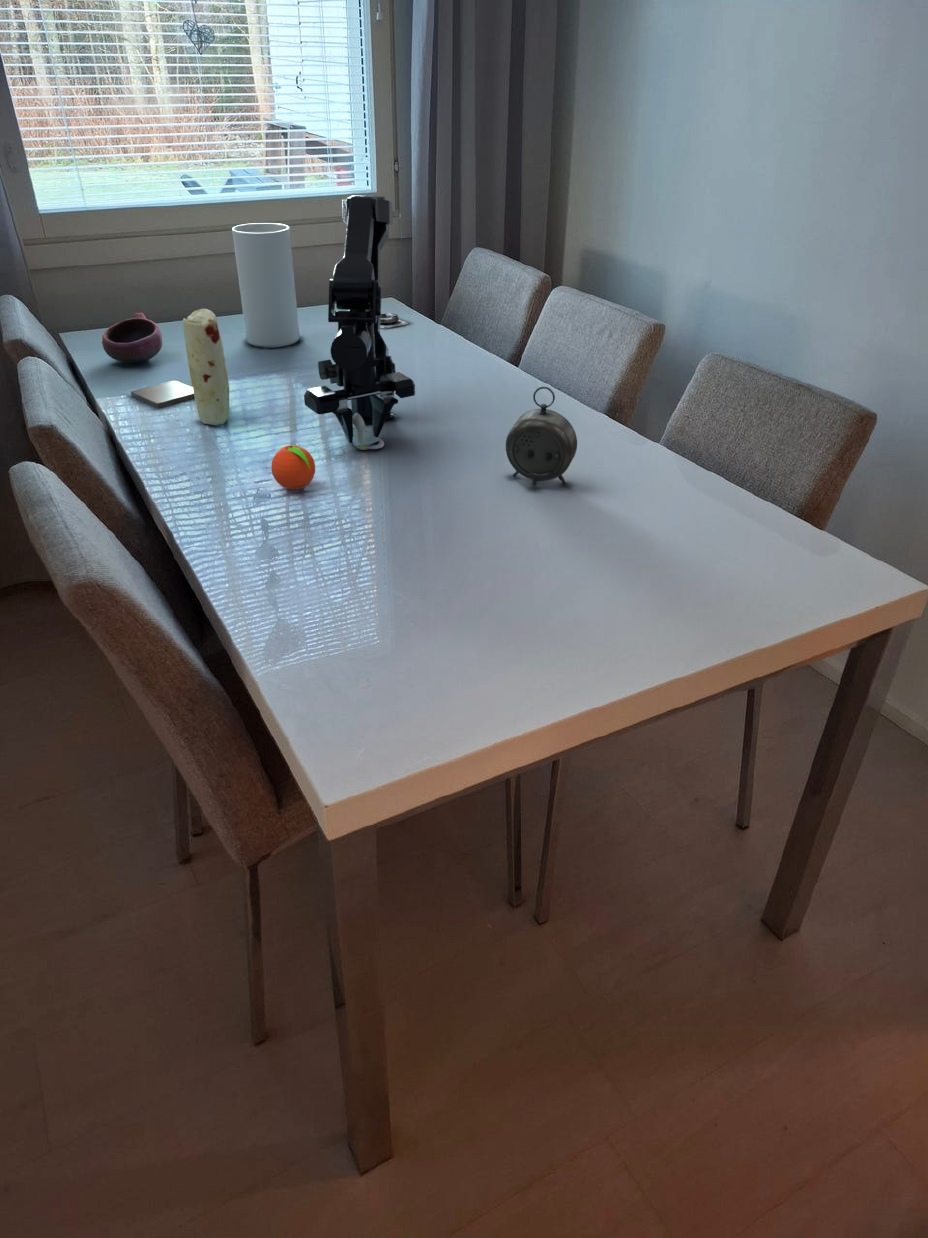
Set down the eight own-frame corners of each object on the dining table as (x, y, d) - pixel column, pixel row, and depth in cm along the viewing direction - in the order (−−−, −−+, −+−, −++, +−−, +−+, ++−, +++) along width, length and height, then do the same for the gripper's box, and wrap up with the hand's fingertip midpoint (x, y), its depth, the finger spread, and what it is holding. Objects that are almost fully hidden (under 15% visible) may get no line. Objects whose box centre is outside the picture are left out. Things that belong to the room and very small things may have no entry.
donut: (365, 321, 222) (364, 313, 220) (389, 316, 226) (389, 308, 225) (383, 328, 216) (383, 320, 215) (408, 323, 220) (408, 315, 219)
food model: (236, 427, 161) (220, 317, 150) (199, 431, 159) (181, 320, 148) (231, 409, 169) (216, 303, 158) (196, 412, 167) (178, 305, 156)
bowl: (173, 363, 192) (167, 326, 188) (114, 373, 186) (106, 335, 182) (152, 345, 204) (145, 310, 199) (96, 354, 198) (87, 318, 193)
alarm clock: (574, 482, 142) (582, 385, 133) (566, 495, 138) (574, 396, 129) (510, 472, 145) (514, 377, 136) (501, 485, 141) (504, 387, 132)
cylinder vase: (295, 348, 202) (283, 233, 188) (241, 348, 202) (226, 232, 188) (304, 333, 212) (293, 223, 198) (253, 333, 212) (239, 222, 199)
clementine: (330, 489, 139) (326, 447, 135) (295, 503, 135) (291, 460, 131) (299, 474, 144) (295, 434, 140) (264, 487, 140) (259, 446, 136)
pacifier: (371, 436, 158) (342, 442, 155) (371, 403, 155) (340, 408, 152) (391, 449, 153) (360, 455, 150) (390, 415, 150) (359, 421, 147)
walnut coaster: (175, 384, 181) (174, 379, 180) (202, 395, 175) (201, 390, 175) (131, 396, 175) (130, 391, 174) (158, 408, 169) (157, 403, 169)
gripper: (384, 331, 155) (388, 415, 163) (286, 347, 146) (295, 435, 155) (415, 347, 147) (417, 435, 155) (314, 365, 138) (322, 456, 147)
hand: (363, 439), depth 153 cm, fingers closed on pacifier, 5 cm apart
